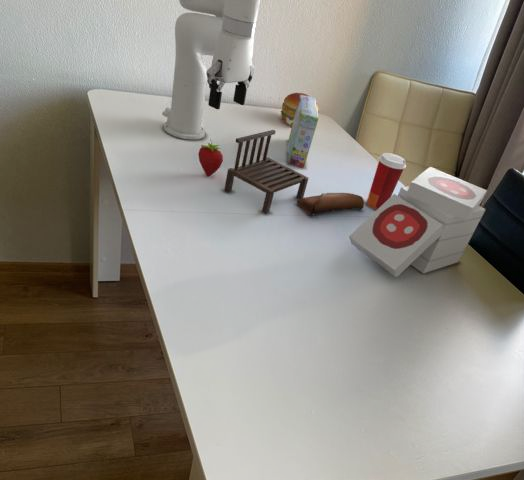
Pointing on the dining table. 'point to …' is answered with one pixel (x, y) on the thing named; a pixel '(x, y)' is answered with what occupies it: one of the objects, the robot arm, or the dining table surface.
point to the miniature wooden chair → (263, 170)
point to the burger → (291, 107)
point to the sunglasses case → (330, 203)
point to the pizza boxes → (422, 224)
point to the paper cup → (385, 179)
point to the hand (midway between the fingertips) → (226, 105)
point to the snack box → (302, 130)
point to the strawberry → (210, 158)
